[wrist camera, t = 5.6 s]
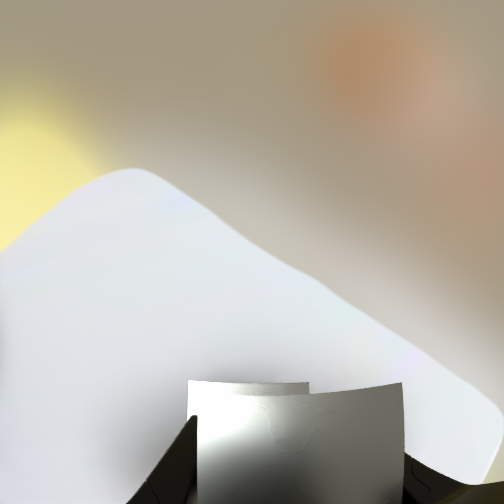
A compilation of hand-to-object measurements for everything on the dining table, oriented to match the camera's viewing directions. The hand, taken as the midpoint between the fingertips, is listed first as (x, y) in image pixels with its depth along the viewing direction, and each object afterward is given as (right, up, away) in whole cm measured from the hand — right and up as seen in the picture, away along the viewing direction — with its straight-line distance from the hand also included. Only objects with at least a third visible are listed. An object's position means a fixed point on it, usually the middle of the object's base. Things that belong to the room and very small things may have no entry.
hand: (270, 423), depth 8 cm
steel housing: (-1, -4, +5) cm, 7 cm away
